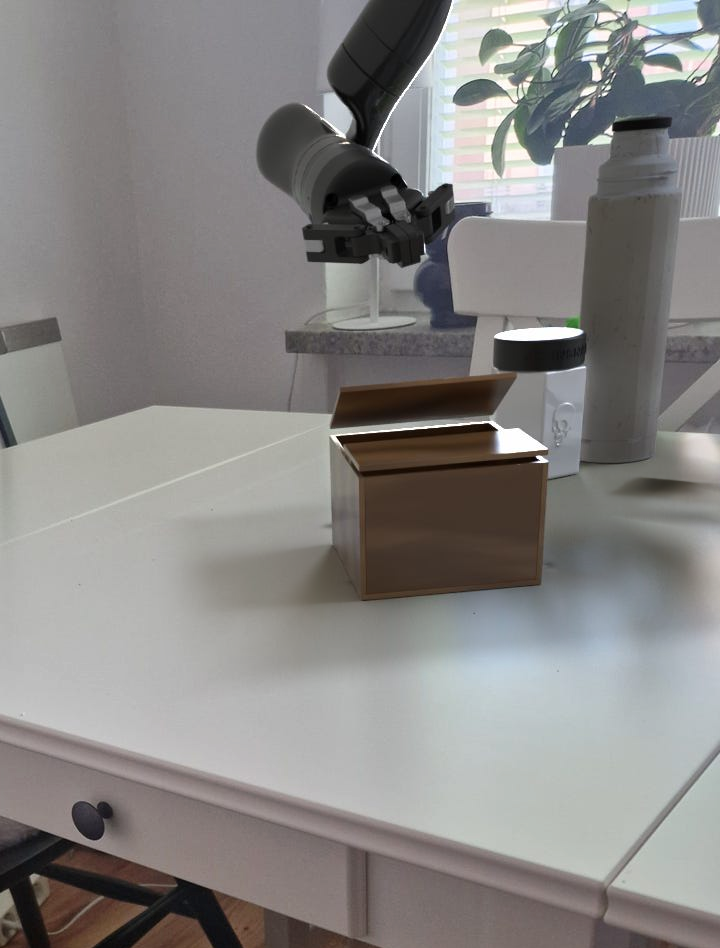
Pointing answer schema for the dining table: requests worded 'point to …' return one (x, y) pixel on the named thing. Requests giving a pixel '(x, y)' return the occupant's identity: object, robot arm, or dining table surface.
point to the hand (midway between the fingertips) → (410, 251)
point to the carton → (438, 509)
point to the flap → (420, 400)
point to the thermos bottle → (628, 291)
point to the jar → (544, 390)
